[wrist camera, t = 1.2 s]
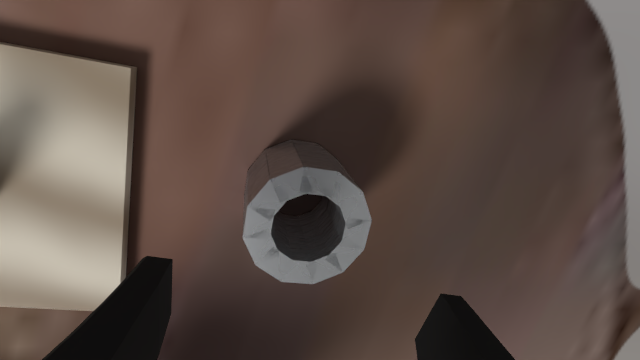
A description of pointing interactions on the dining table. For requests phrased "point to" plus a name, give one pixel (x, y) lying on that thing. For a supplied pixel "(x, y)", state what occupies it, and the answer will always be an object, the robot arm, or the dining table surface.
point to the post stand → (63, 177)
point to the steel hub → (309, 228)
